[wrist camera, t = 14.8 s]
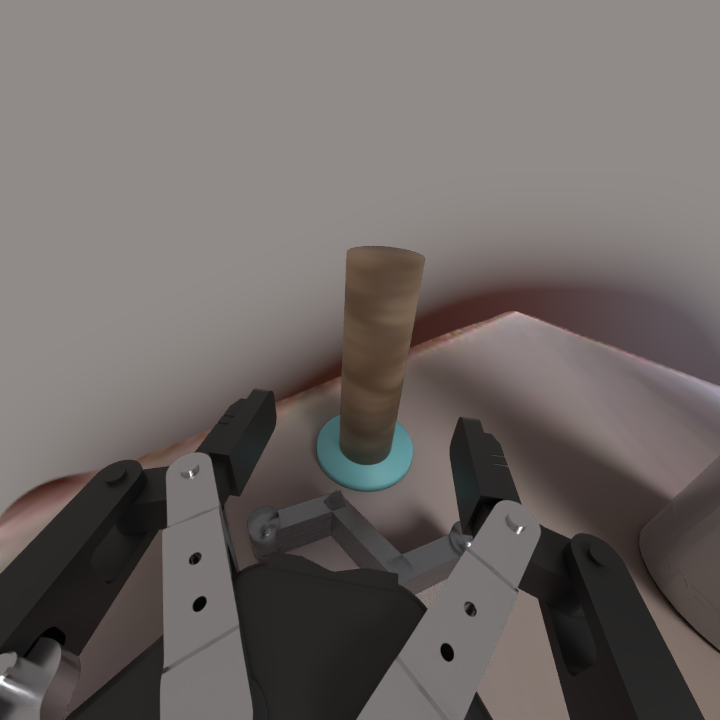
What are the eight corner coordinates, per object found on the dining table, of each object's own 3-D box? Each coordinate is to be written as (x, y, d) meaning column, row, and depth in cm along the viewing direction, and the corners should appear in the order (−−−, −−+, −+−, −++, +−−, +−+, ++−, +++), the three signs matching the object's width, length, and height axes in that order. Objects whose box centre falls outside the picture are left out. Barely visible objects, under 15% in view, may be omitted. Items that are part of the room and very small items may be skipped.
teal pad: (394, 412, 31) (395, 406, 30) (426, 482, 24) (428, 476, 23) (312, 420, 29) (312, 414, 28) (322, 499, 22) (322, 493, 22)
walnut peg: (382, 421, 28) (408, 246, 20) (398, 461, 24) (438, 265, 16) (335, 427, 27) (340, 245, 19) (344, 469, 23) (355, 264, 15)
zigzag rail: (458, 522, 21) (470, 496, 19) (480, 613, 17) (498, 589, 15) (267, 508, 21) (262, 480, 19) (239, 595, 17) (229, 569, 15)
